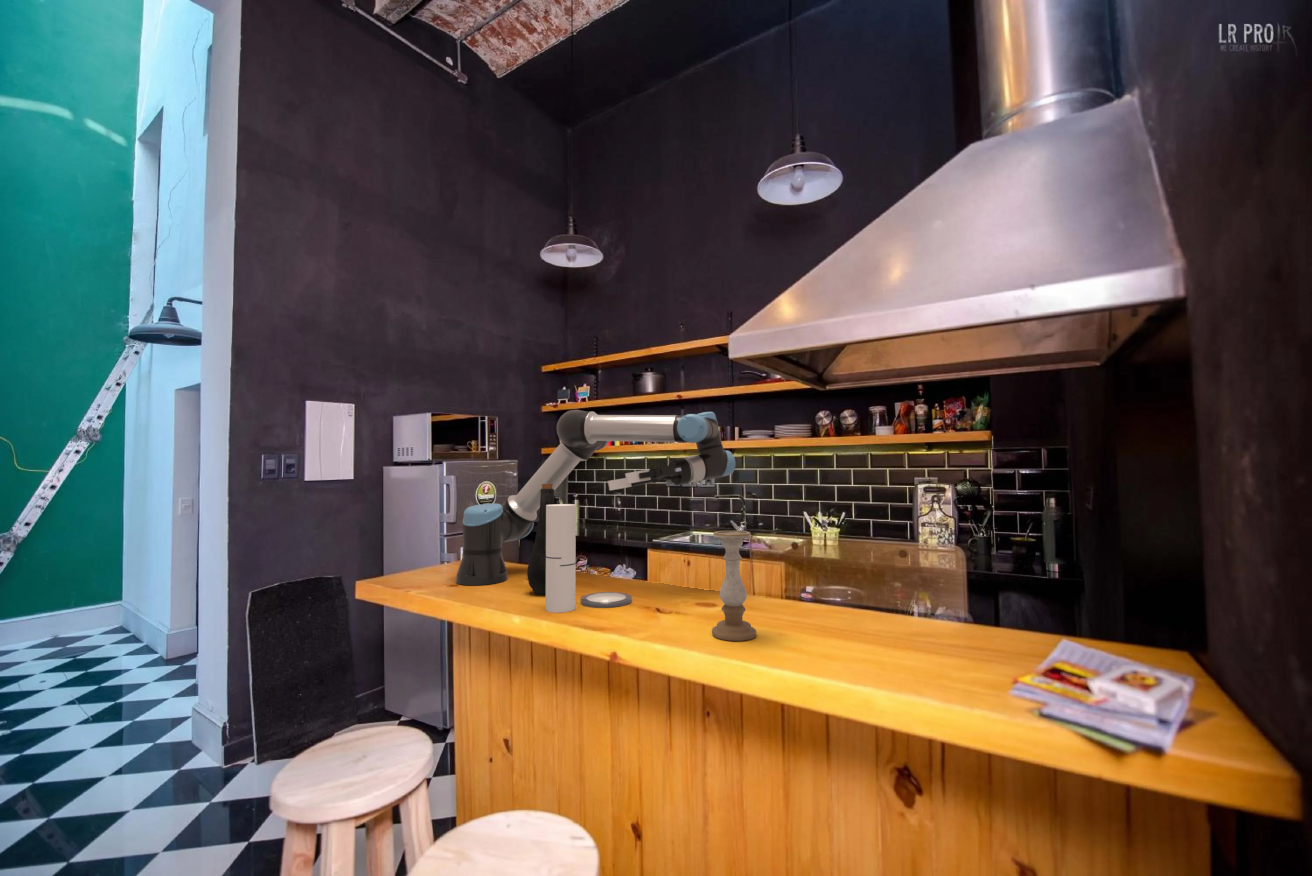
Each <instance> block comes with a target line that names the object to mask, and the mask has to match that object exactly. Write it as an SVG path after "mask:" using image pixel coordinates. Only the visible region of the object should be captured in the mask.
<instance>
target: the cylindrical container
mask: <svg viewBox="0 0 1312 876" xmlns="http://www.w3.org/2000/svg"><path fill="white" fill-rule="evenodd" d="M576 505H577V504H574V503H573V504H572V503H565V504H564V503H560V504H555V503H554V505H546V596H545V611H547V612H548V613H556V614H557V613H560V614H561V613H568V612H572V611H575V610H576V607H577V606H576V600H577V599H576V596H577V594H576V593H577V592H576V591H577V590H576V585H577V584H576V582H577V581H576V568H577V567H576V566H577V564H576V562H577V561H576V557H577V556H576V554H577V553H576V549H577V547H576V543H577V542H576V541H577V540H576V537H577V536H576V535H577V534H576V532H577V530H576V526H577V525H576V524H577V523H576V520H577V519H576V518H577V517H576V516H577V515H576V514H577V513H576V510H577V509H576Z"/></svg>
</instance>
